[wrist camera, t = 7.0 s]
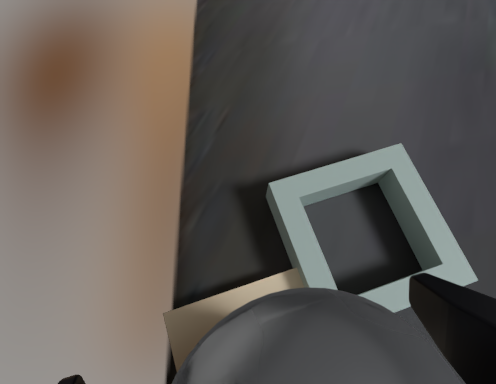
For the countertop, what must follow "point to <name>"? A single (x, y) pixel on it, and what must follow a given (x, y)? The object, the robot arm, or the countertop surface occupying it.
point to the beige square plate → (218, 311)
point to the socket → (401, 202)
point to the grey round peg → (314, 344)
